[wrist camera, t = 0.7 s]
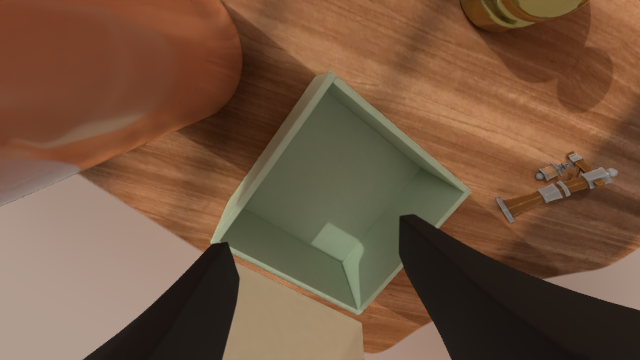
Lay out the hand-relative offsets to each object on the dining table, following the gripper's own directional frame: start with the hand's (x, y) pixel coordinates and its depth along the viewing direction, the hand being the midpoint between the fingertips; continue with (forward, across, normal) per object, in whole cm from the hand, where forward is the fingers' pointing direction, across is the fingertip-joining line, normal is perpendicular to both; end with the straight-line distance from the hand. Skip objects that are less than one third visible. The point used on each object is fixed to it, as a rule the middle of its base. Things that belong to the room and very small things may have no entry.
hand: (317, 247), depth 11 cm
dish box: (+11, -2, +2) cm, 11 cm away
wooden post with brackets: (+12, -20, +5) cm, 24 cm away
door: (+1, +2, +6) cm, 7 cm away
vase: (+11, +8, -9) cm, 16 cm away
